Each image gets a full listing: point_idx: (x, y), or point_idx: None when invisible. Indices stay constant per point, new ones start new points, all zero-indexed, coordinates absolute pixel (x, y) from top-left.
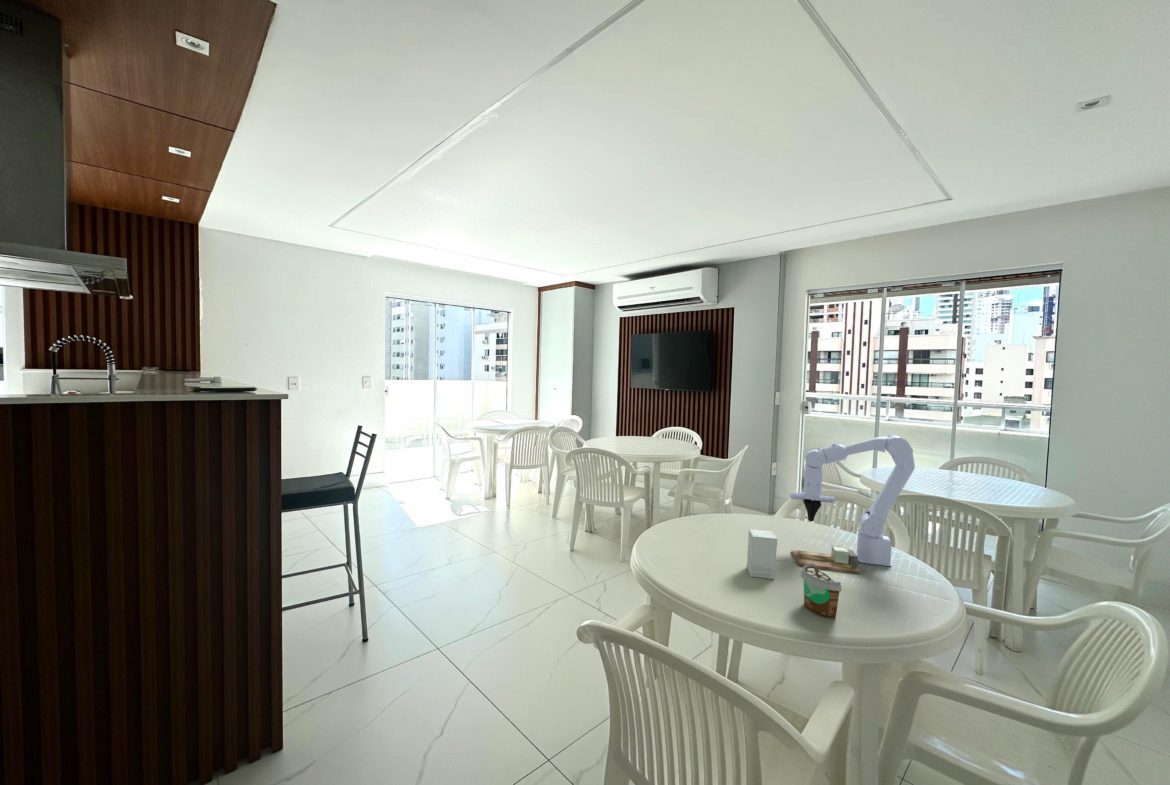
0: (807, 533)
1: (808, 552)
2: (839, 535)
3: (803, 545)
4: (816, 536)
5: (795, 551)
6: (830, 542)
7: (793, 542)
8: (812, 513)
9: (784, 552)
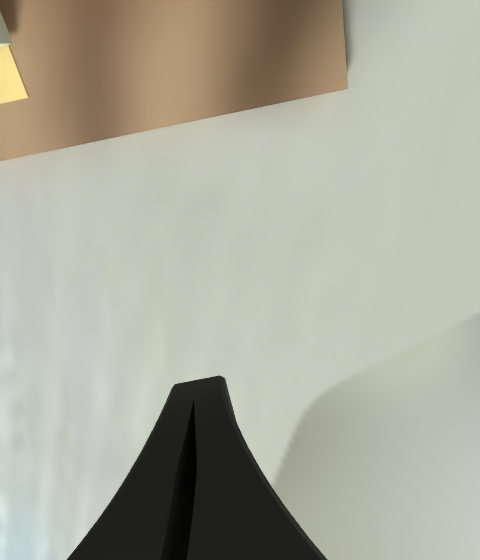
0: None
1: (210, 93)
2: (52, 553)
3: (242, 298)
4: None
5: (319, 49)
6: (83, 437)
7: (306, 319)
8: (184, 475)
9: (399, 49)
